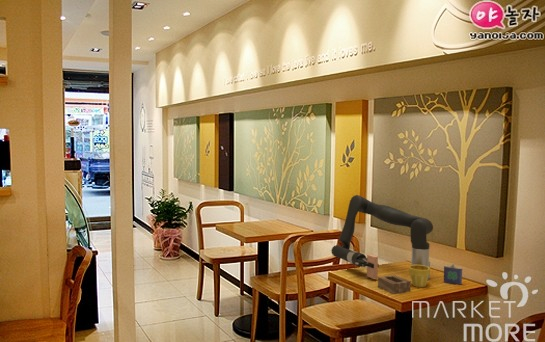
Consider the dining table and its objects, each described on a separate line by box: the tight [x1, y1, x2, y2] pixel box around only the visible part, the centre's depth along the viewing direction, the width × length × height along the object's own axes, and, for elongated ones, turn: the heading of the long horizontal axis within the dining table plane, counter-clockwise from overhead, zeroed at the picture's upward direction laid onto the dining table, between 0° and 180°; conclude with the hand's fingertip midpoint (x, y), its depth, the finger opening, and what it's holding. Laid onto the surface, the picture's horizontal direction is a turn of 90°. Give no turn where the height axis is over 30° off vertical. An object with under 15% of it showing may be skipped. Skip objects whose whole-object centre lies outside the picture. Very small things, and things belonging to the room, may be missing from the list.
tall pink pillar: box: [366, 253, 379, 280], centre depth 260 cm, size 2×6×12 cm, turn 27°
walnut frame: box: [377, 274, 412, 295], centre depth 244 cm, size 11×13×5 cm
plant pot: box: [408, 265, 431, 288], centre depth 250 cm, size 10×10×10 cm
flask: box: [443, 263, 463, 286], centre depth 254 cm, size 9×3×11 cm, turn 63°
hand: (375, 265), depth 257 cm, fingers closed on tall pink pillar, 2 cm apart
